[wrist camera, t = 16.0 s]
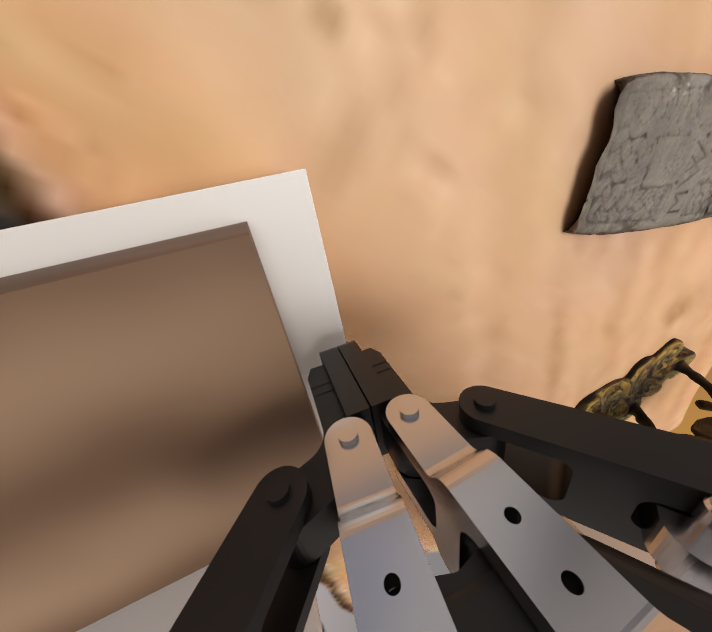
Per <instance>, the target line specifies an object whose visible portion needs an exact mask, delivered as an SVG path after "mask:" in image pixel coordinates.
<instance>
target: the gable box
mask: <svg viewBox="0 0 712 632" xmlns="http://www.w3.org/2000/svg"><path fill="white" fill-rule="evenodd" d="M208 566H209V565H208ZM208 566H206V567H204V568H202V569H200V570H198V571H196V572H194V573H192V574H190V575H188V576H186V577H184V578H182V579H180V580H178V581H176V582H174V583H172V584H170V585H168V586H166V587H164V588H162V589H160V590H158V591H156V592H154V593H152V594H150V595H148V596H146V597H144V598H142V599H140V600H138V601H136V602H134V603H132V604H130V605H128V606H126V607H124V608H122V609H120V610H118V611H116V612H114V613H112V614H110V615H108V616H106V617H104V618H102V619H100V620H98V621H96V622H95V623H93V624H91V625H89V626H87V627H85V628H83V629H81V630H79V631H77V632H169V631H170V629H171V628H172V626H173V624H174V623H175V621H176V619H177V618H178V616H179V614H180V613H181V611H182V609H183V608H184V606H185V604H186V603H187V601H188V599H189V598H190V596H191V594H192V593H193V591H194V589H195V588H196V586H197V584H198V583H199V581H200V579H201V578H202V576H203V574H204V573H205V571H206V569H207V568H208ZM303 632H323V631H322V626H321V620H320V615H319V610H318V604H317V599H316V594H315V597H314V601H313V604H312V607H311V610H310V613H309V616H308V619H307V622H306V625H305V628H304V631H303Z"/></svg>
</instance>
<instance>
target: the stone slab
mask: <svg viewBox="0 0 712 632" xmlns="http://www.w3.org/2000/svg"><path fill="white" fill-rule="evenodd" d="M615 81H616V83H617V85H618V86H619V89H620V91H621V94H620V96H619V99H618V102H617V105H616V108H615V112H614V126H613V129H612V132H611V136H610V139H609V142H608V144H607V146H606V148H605V150H604V152H603V154H602V156H601V157H600V159H599V161H598V163H597V165H596V169H595V174H594V178H593V182H592V185H591V188H590V190H589V193H588V196H587V199H586V202H585V204H584V206H583V209H582V212H581V214H580V216H579V219H578V220H577V221H576V222H575V223H574V224H573V226H572V227H571V228H570V229H569V230H566V231H563V232H567V233H572V234H583V235H592V234H596V235H606V234H617V233H624V232H634V231H643V230H649V229H654V228H659V227H669V226H674V225H680V224H684V223H689V222H693V221H697V220H700V219H703V218H708V217H712V75H709V74H706V73H700V74H699V73H675V72H654V73H646V74H638V75H633V76H628V77H623V78H621V79H618V80H615Z"/></svg>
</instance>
